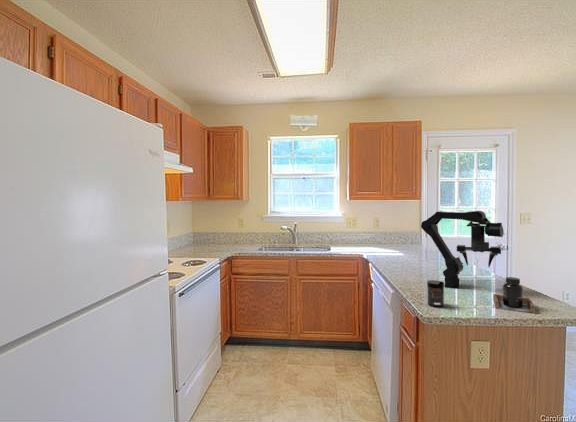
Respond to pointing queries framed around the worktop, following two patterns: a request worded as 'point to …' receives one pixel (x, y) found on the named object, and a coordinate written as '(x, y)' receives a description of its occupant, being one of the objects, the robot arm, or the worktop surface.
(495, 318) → the worktop surface
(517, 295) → the supplement bottle
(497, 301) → the bay
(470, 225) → the robot arm
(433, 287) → the supplement container
